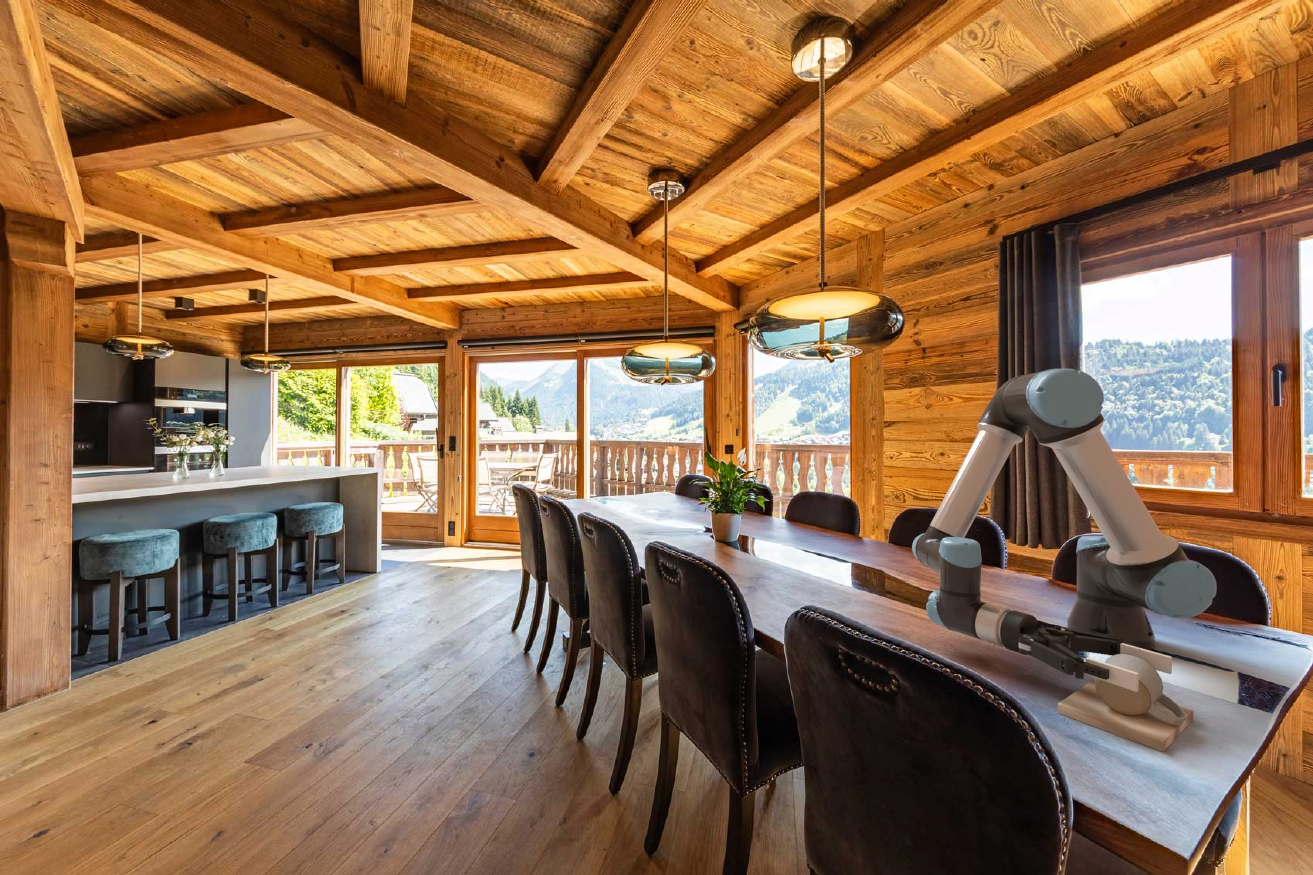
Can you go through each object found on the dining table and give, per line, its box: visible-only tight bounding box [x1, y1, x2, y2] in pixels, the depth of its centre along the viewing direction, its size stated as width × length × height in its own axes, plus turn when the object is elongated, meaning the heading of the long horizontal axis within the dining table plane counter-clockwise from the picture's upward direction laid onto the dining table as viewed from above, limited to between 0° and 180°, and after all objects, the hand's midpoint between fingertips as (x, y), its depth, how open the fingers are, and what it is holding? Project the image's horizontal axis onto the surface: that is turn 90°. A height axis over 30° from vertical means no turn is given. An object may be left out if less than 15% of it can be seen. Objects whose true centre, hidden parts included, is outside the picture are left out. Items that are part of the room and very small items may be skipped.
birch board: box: [1057, 678, 1194, 753], centre depth 87 cm, size 16×13×2 cm
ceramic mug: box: [1095, 654, 1187, 726], centre depth 85 cm, size 11×8×8 cm
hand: (1155, 673), depth 83 cm, fingers open, 11 cm apart
